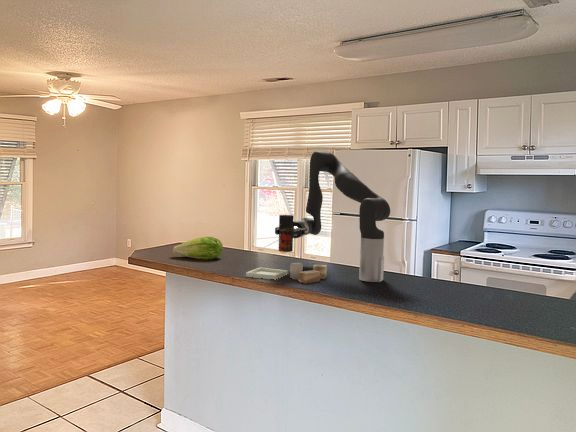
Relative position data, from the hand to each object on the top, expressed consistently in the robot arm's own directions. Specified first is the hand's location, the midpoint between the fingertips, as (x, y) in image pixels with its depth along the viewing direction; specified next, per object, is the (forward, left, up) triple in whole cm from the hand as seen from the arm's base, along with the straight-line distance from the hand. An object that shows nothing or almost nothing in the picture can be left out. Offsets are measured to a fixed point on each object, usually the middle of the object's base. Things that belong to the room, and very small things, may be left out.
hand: (283, 232), depth 201 cm
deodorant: (0, -3, -8) cm, 9 cm away
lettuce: (+52, -18, -18) cm, 58 cm away
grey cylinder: (-8, +4, -18) cm, 20 cm away
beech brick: (-14, +8, -18) cm, 24 cm away
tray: (+4, +6, -18) cm, 19 cm away
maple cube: (-16, -2, -18) cm, 24 cm away
